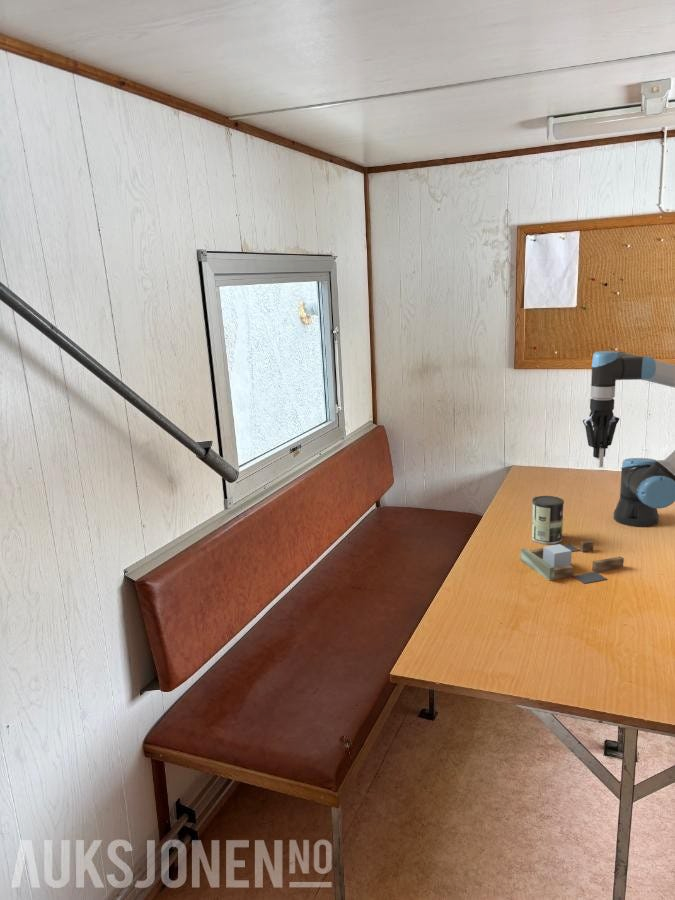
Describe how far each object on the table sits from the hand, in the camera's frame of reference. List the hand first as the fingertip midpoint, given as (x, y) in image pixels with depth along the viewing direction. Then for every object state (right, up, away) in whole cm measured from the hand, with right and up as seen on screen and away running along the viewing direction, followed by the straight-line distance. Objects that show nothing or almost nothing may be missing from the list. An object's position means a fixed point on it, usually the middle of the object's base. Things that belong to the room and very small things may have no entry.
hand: (598, 466), depth 228 cm
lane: (-16, -30, -18) cm, 39 cm away
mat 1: (-14, -27, -7) cm, 31 cm away
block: (-21, -31, -19) cm, 42 cm away
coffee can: (-17, -25, +3) cm, 31 cm away
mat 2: (-14, -33, -28) cm, 45 cm away
